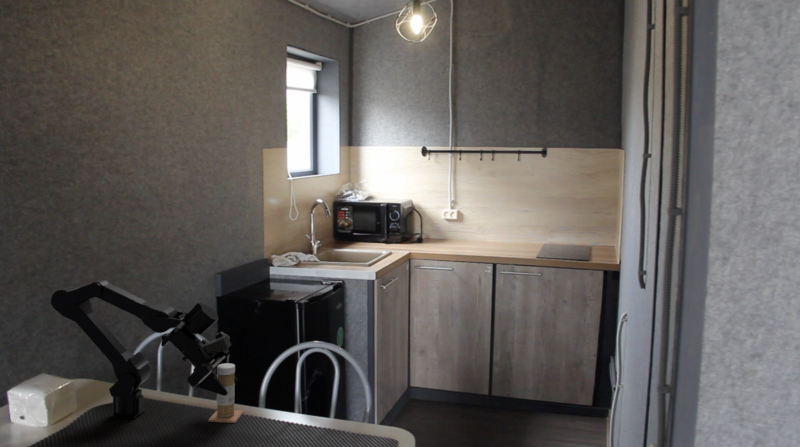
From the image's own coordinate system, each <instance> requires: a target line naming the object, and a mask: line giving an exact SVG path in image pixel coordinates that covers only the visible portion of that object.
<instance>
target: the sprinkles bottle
mask: <svg viewBox="0 0 800 447" xmlns="http://www.w3.org/2000/svg"><path fill="white" fill-rule="evenodd" d="M235 372H236V365H235V364H234V363H230V362H229V363H225V364H220V365H218V366H217V374H218V375H217V374H216V375H217V378H218V380H219V381H220V382H221V384H222V385H223V386H224V387H225V389H226V390H227V392H228V394H227V395H226V396H223V395H220V394H217V393H216V395H217V396H216V399H217V400H216V403H217V405H216V406H217V408H216V411H217V416H219V417H222V418H226V417H231V416H233V415H234V410H235V393H236V392H235V386H236V383H234V375H235Z"/></svg>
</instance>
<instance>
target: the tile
mask: <svg viewBox="0 0 800 447" xmlns="http://www.w3.org/2000/svg"><path fill="white" fill-rule="evenodd" d="M243 413H244V410H239V409H238V410H236V409H234V415H233V416H231V417H226V418H222V417H219V416H217V410H216V411H215V412H214V413H213V414H212V415H211V416H210V418H208V422H214V423H227V424H228V423H229V424H231V423H233V424H235V423H237V421H238V420H239V419H240V418H241V416H242V415H243Z"/></svg>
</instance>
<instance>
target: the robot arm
mask: <svg viewBox="0 0 800 447" xmlns="http://www.w3.org/2000/svg"><path fill="white" fill-rule="evenodd" d="M94 298H97V299H99V300H101V301H104V302H105V303H108V304H109V305H112V306H114V307H116V308H118V309H121V310H122V311H123V312H126V313H129V314H131V315H132V316H135V317H136V318H138V319H139V320H140V321H141V322H142V324H143V325H144V326H146V327H147V328H148V329H150V330H152V332H154V333H157V334H162V333H163V335H161V343H160V344H161V345H160V346H161V347H165V346H166V345H168V344H169V343H170V344H171V345H172V346H173V347H174V348H175V349H176V350H177V351H178V352H179V353H180V354H181V355H182V356H183V357H182V358H181V360H182V361H183V362H186V361H188V362H189V363H190V364H191V365H192V366H193V367H194V368H193V370H192V373H191V374H190V375H188V376H187V380H186V381H187V382H186V383H187V384H188V385H189V386H190V387H191V388H192V389H193V388H194V387H195V388H196V389H202V390H205V391H209V392H211V393H214V394H216V395H217V394H220V395H223V396H226V395H227V394H228V392H227V390H226V389H225V387H224V386H223V385H222V384H221V382H220V381H219V380H218V374H217V366H218V365H220V364H225V363H230V362H229V361H230V353H229V352H230V349H229V348H230V347H231V346H232V343H231V340H230V339H231V337H230V335H228V334H227V333H225V332H224V331H220V332H218V333H217V334H215V338H213V340H211V341H208V340H207V339H200V338H199V337H198V336H197V335H203V334H204V333H206V331H208V330H209V329H210V328H211V327H212V326H213V325H214V324H215V323H216V322H217V321H218V320H219V316H218V313H217V312H216V310H214V308H212V307H210V306H208V305H207V304H204V303H203V302H202V301H198V302H197V303H196V304H194V306H193V307H192V309H191V310H190V311H188V312H186V311H185V312H184V311H178V310H176V308H175V307H172V306H168V305H165V304H162V303H155V302H150V301H147V300H145V299H143V298H141V297H139V296H137V295H134V293H130V292H129V291H126V290H124V289H122V288H121V287H118V286H116V285H114V284H112V283H110V282H109V281H108V280H106V279H99V280H96V281H93V282H91V283H90V284H89V283H88V284H86V285H83V286H79V285H71V286H67V287H64V288H62V289H58V290H56V291H55V292H54V293H53V294H52V295H51V297H50V305H51V307H52V309H53V310H55V311H56V312H57V313H58V314H60V315H61V316H62V317H64V318H65V319H68V320H69V321H71V322H74V323H75V324H77V326H78V327H79V328H80V330H82V331H83V333H84V334H85V335H86V336H87V337H88V338H89V339H90V341H91V342H92V343H93V344H94V345H95V347H96V348H97V349H98V350H99V351H100V352H101V353H102V354H103V356H104V357H105V359H107V360H108V362H109V363H110V364H111V367H112V369H113V374H114V377H115V378H116V380H117V381H116V382H115V383H114V384H113V385H111V387H109V389H108V392H109V394H110V396H111V397H112V413H111V414H110V415H109V418H111V419H113V418H114V419H130V420H131V419H132V420H133V419H135V418H136V417H138V416H139V415H140V414H141V413H142V412H144V411H145V409H146V408H145V407H144V397H145V396H144V395H143V390H142V389H140V388H142V387H143V386H144V383H145V382H147V380H149V378H150V376H151V372H152V369H151V366H150V365H149V364H150V361H149V360H147V359H146V358H144V356H143V354H142V353H141V352H140V351H138V352H136V353H135V354H134V353H132V352H130V351H128V350H127V349H126V348H125V347H124V345H123V344H122V343H121V342H120V341H119V340H118V338H117V337H116V336H115V335H114V334H113V333H112V331H111V330H110V329H109V328H108V327H107V325H105V323H104V322H103V321H102V319H100V318H99V316H98V315H97V314H96V313H95V312H94V311H93V308H92V303H91V301H90V299H94ZM182 323H183V325H181V324H182ZM180 325H181V327H179V326H180ZM171 329H172V330H171ZM168 330H171V331H169V333H165V332H167V331H168ZM237 382H238V379H237V377H236V375H235V374H234V383H235V384H236V383H237Z"/></svg>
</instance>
